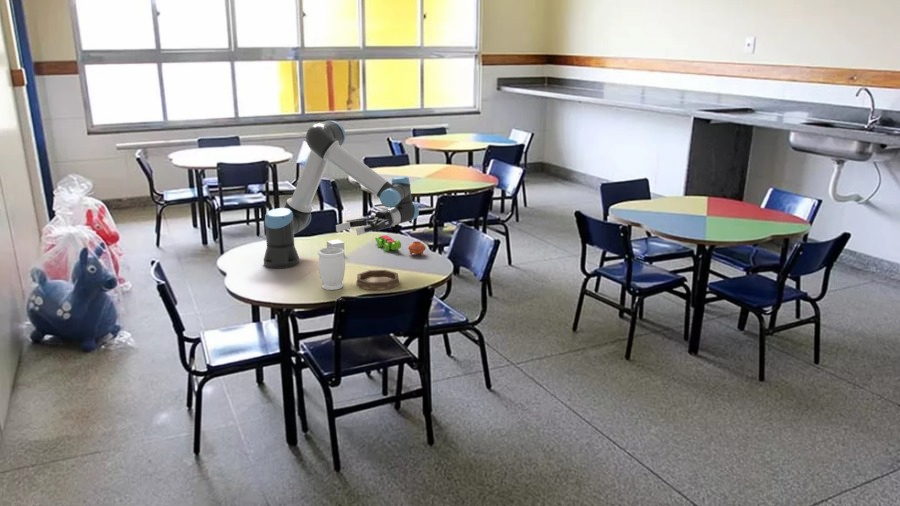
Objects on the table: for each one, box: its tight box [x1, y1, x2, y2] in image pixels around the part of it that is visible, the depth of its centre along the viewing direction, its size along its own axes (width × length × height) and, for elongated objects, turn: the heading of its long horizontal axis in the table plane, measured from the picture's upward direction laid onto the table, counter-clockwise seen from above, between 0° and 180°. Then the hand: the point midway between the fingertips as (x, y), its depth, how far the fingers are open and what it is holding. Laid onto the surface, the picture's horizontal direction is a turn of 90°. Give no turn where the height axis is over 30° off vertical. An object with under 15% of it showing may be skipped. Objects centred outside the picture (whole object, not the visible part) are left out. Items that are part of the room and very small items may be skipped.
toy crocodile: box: [375, 235, 402, 252], centre depth 325 cm, size 20×7×6 cm, turn 30°
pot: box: [408, 240, 427, 257], centre depth 315 cm, size 8×8×7 cm
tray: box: [355, 269, 400, 291], centre depth 278 cm, size 17×17×3 cm
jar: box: [317, 247, 346, 291], centre depth 271 cm, size 11×10×15 cm
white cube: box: [326, 239, 345, 256], centre depth 314 cm, size 6×6×6 cm
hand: (346, 230), depth 275 cm, fingers open, 13 cm apart
